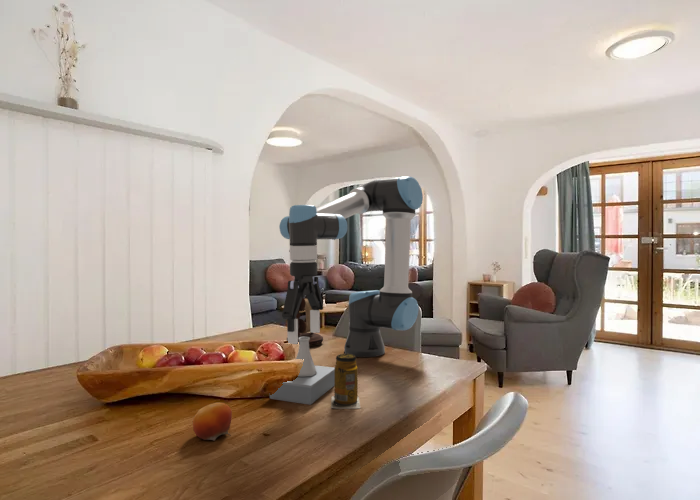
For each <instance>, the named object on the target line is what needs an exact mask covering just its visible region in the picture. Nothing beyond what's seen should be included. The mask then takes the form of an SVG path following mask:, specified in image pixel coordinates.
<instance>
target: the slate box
mask: <svg viewBox="0 0 700 500" xmlns="http://www.w3.org/2000/svg"><path fill="white" fill-rule="evenodd" d="M314 365H315V364H314ZM315 368H316V371H317V373H316V374H315V375H313V376H305V377H300V376H298V377H297V378H296V379H295V380H293V381H287V382H283V383H282V384H283V385H282V386H281V387H280V388H278V390H277V391H276V392H275V393H274V394H272V395H270V394H269V399H271V400H276V401H284V402H291V403H296V404H297V403H298V404H304V405H310V406H311V405H312V404H313V403H315V402H316V401H317V400H318V399H320V398H321V397H322V396H324V395H325V394H326V393H327V392H328V391H330V390H331V389H332V388H334V384H335V383H334V382H335V380H334V379H335V375H334V373H335V366H334V367H333V366H332V367H331V366H323V365H315Z"/></svg>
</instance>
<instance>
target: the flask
mask: <svg viewBox="0 0 700 500" xmlns="http://www.w3.org/2000/svg"><path fill="white" fill-rule="evenodd" d="M298 339H299V345H298V351H297V354H296V358H295V360H296V359H302V360H303V359H304V362H303V366H302V368H301V370H300V373H299V375H298V376H300V377H305V376H313V375H315V374H316V373H317V371H316V368H315V363H314V360H313V357H312V354H311V351H310V350H311V349H310V344H309V340H310V338H309V337H299V338H298Z"/></svg>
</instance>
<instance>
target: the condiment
mask: <svg viewBox="0 0 700 500" xmlns="http://www.w3.org/2000/svg"><path fill="white" fill-rule="evenodd" d="M334 368H335V373H334V375H335V379H334V380H335V382H334V383H335V384H334V386H333V388H334V393H333V394H334V395H332V396H331V404H330V405H331V406H330V408H331V409H337V410H338V409H341V410H344V409H345V410H350V409H361V402H360V397H359V395H358V394H359V393H358V389H359V388H358V386H359V385H358V381H359V380H358V370H359V369H358V366H357V357H356V356H355V355H353V354H345V353H340V354H337V355H336V357H335V366H334Z"/></svg>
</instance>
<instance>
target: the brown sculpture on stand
mask: <svg viewBox="0 0 700 500" xmlns="http://www.w3.org/2000/svg"><path fill="white" fill-rule="evenodd" d="M310 310H313V309H312V308H311V306H310V304H309V301H308V299H307V297H306V295H305V297H304V298H302V301H301V304H300V307H299V310H298V313H297V316H296V319H298V338H299V337H309V338H310V340H309V345H315V344H319V343H320V344H322V343H323V342H324V336H322V335H320V333H312V332H310ZM301 317H305V318H304V319H301ZM298 342H299V339H298Z"/></svg>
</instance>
